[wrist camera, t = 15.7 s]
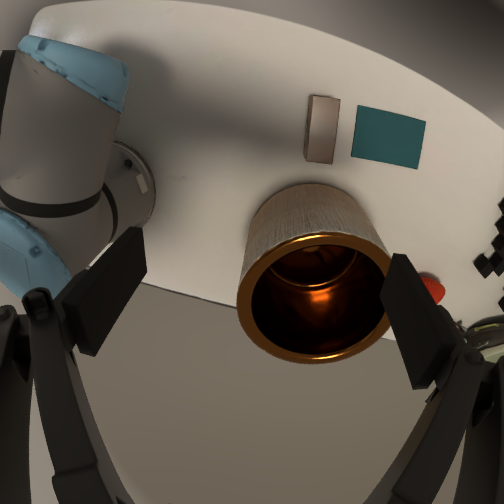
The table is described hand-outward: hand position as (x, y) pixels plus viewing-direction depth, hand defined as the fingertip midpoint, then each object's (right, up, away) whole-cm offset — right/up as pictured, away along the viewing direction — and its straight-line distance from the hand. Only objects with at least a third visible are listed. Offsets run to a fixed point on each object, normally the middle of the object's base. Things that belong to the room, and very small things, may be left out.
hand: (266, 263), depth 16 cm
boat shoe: (+56, -22, +27) cm, 66 cm away
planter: (+8, +2, +29) cm, 30 cm away
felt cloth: (+18, +16, +20) cm, 31 cm away
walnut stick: (+8, +16, +21) cm, 28 cm away
